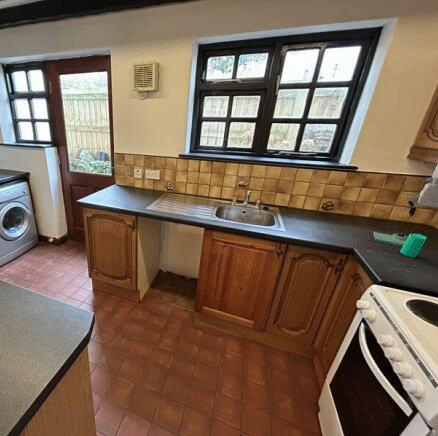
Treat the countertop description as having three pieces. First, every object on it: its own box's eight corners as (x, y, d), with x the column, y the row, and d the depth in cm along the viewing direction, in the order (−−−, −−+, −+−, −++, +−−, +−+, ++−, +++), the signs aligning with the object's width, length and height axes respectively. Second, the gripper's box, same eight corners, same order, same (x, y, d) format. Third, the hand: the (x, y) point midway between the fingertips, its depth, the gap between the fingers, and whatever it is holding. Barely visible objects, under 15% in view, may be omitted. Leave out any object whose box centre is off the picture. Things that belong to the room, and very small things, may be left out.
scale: (404, 240, 139) (406, 235, 138) (409, 248, 130) (411, 243, 129) (372, 233, 147) (374, 229, 146) (374, 240, 138) (376, 235, 137)
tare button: (403, 236, 138) (404, 233, 138) (404, 237, 136) (405, 235, 135) (396, 234, 140) (397, 231, 139) (397, 236, 138) (398, 233, 137)
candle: (413, 253, 125) (425, 232, 120) (418, 258, 120) (430, 237, 115) (398, 249, 127) (409, 229, 122) (402, 254, 123) (413, 233, 118)
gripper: (417, 180, 112) (401, 215, 118) (474, 187, 102) (454, 224, 109) (413, 178, 118) (399, 211, 124) (467, 184, 108) (449, 219, 114)
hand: (425, 217), depth 116 cm, fingers open, 9 cm apart
